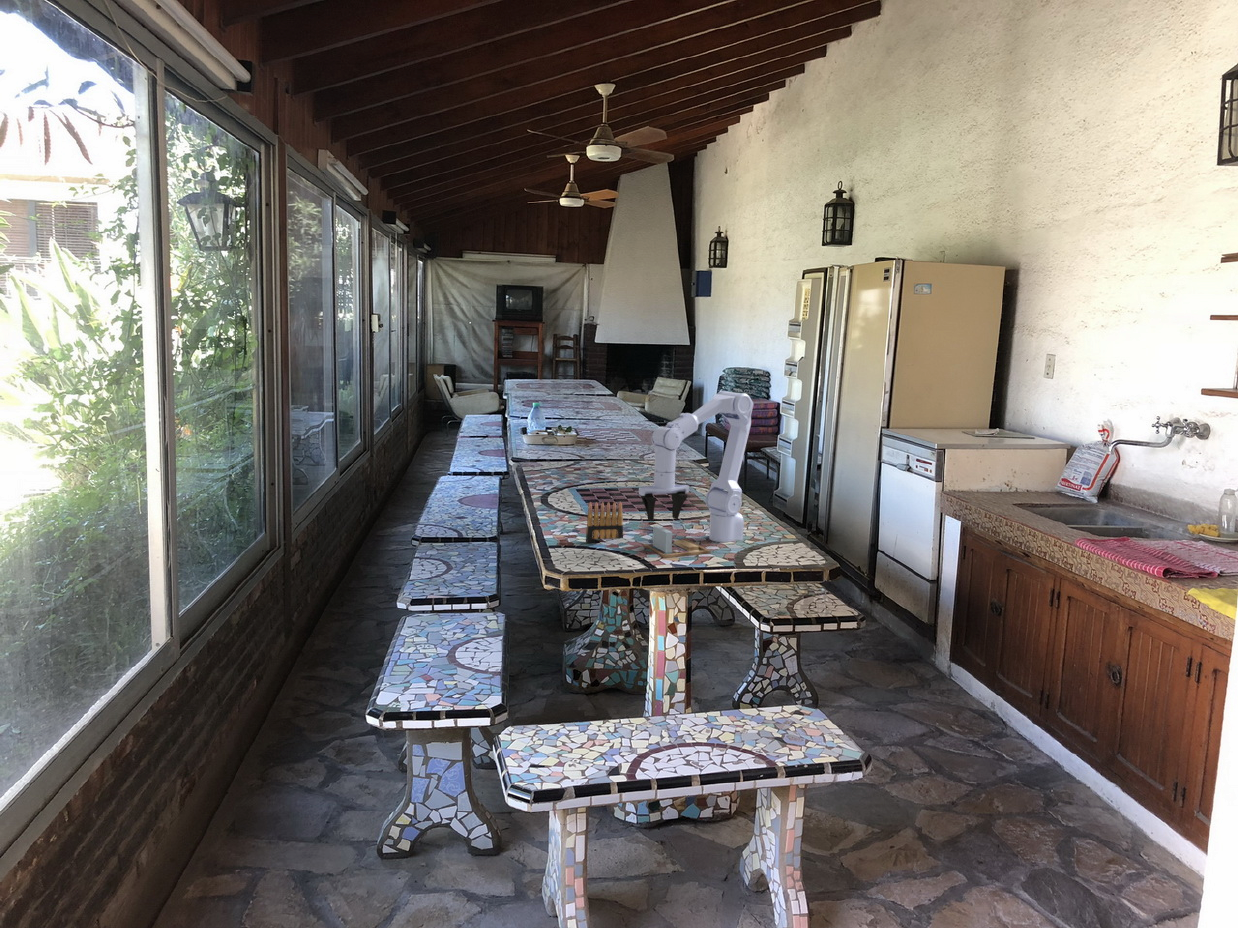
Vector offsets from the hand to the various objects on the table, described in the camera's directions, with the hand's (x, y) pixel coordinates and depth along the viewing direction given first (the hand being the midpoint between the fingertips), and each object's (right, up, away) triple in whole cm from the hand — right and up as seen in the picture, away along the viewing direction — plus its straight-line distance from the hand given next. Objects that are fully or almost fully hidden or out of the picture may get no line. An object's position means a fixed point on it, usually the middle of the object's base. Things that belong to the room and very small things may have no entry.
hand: (663, 519), depth 238 cm
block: (0, -10, +2) cm, 10 cm away
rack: (+3, -10, +2) cm, 10 cm away
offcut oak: (+7, -8, +4) cm, 11 cm away
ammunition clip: (-16, -8, +12) cm, 21 cm away
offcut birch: (+7, -9, +4) cm, 12 cm away
